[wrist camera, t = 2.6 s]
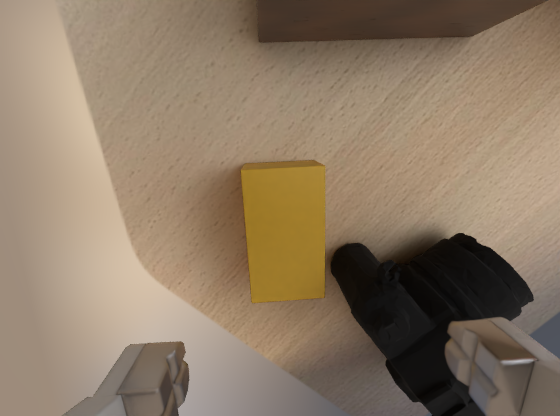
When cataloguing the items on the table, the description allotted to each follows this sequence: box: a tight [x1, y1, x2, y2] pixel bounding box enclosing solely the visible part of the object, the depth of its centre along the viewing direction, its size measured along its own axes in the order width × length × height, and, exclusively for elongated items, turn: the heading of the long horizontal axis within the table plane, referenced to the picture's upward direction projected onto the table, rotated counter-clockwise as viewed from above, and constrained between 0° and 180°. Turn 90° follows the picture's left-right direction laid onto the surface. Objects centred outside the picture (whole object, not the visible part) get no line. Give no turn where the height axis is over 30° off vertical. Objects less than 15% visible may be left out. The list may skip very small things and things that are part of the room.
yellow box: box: [240, 160, 325, 303], centre depth 18 cm, size 5×9×4 cm, turn 3°
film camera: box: [331, 233, 534, 416], centre depth 18 cm, size 15×10×9 cm, turn 39°
